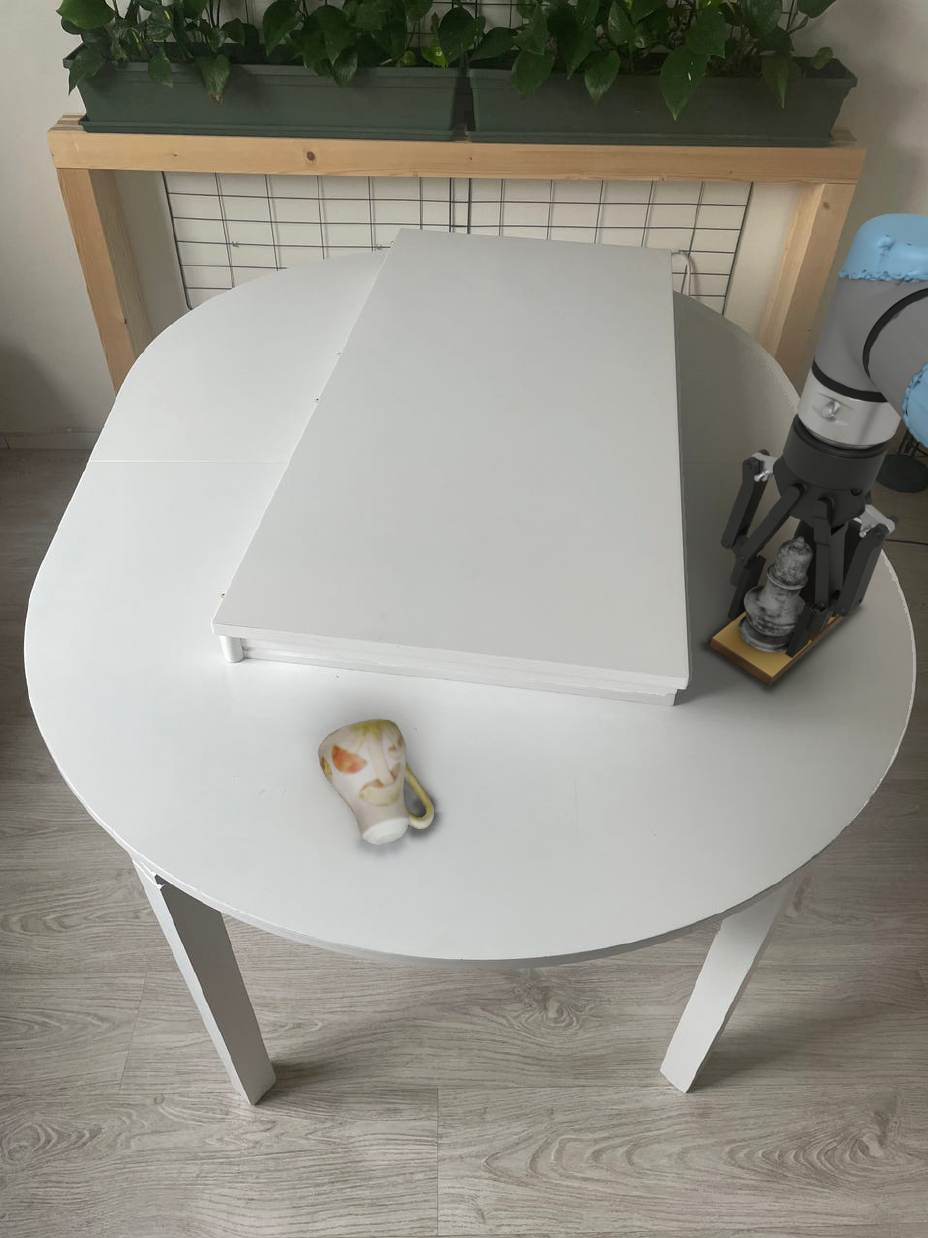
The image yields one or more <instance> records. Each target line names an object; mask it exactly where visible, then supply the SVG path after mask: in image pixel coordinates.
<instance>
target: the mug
mask: <svg viewBox="0 0 928 1238" xmlns="http://www.w3.org/2000/svg"><path fill="white" fill-rule="evenodd" d="M406 746H407V745H406V742H405V738H404V736H403V734H402V730H401V729H400V727H399V725H398V724H397V723H396V722H395V721H393V720H390V719H383V718H377V719H376V718H375V719H367V720H363V721H362V720H361V721H358V722H354V723H351V724H348V725H345V726H342V727H340V728H337V729H336V730H334V731H332V732H330V733H329V734H328V735H327V736H326V737H325V738H324V739H323V740H322V742H321V743H320V744H319V747H318V748H317V756H318V760H319V765H320V769H321V770H322V773H323V775H324V777H325V779H326V780H327V781H328V783H329V784H330V786H331V787H332V788H333V789H334V790H335V791H336V793H337V794H338V795H339V796H340V797H341V799H342V800H343V801H344V802H345V804H346V805H347V806H348V807H349V809H350V810H351V813H353V816H354V818H355V821H356V823H357V826H358V830H359V833H360V835H361V837H362V839H363V840H364V841H366V842H368V843H369V844H372V845H376V846H381V845H386V844H391V843H393V842H395V841H397V840H398V839H401V837H402V836H404V835H405V833H406V832H407V830H408V828H409V826H411V827H412V828H415V829H418V830H425V829H426V828H428V827H429V826H430V825H431V824H432V822H433V820H434V817H435V806H434V804H433V801H432V800H431V798H430V797H429V794H428V793H427V792H426V790H425V788H423V787H422V785H421V784H420V782H419V781H418V779H417V777H416V776H415V775H414V774H413V772H412V770H411V768H410V766H409V764H408V762H407V747H406ZM405 783H406V784H407V785H408V786H409V788H410V789H412V791H413V792H414V793H415V794H416V796H417V797H418V798H419V800H420V802H421V803H422V805H423V807H424V809H425V810H424V811H425V813H424V815H423V816H417V815H414V814H412V812H411V811H409V808H408V807H407V806H406V801H405V795H404V786H405Z"/></svg>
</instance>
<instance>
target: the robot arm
mask: <svg viewBox="0 0 928 1238" xmlns="http://www.w3.org/2000/svg"><path fill="white" fill-rule="evenodd" d="M842 266H843V267H842V268H841V269H839V270H838V273H837V281H836V283H835V287H834V290H833V295H832V296H831V300H830V303H829V307H828V310H827V312H826V313H827V314H826V316H825V320H824V322H823V325H822V329H821V332H820V335H819V339H818V342H817V345H816V348H815V352H814V357H813V360H812V361H811V364H810V368H809V371H808V374H807V377H806V380H805V383H804V386H803V389H802V391H801V395H800V397H799V400H798V404H797V407H796V408H797V411H796V412H797V413H796V414H795V415H794V417H793V418H792V422H791V424H790V428H789V431H788V434H787V437H786V439H785V443H784V446H783V450H782V454H781V455H780V456H779V457H775V456H771V455H770V452H769V451H768V450H767V449H765V448H762V449H759V450H758V451H756V452H755V453H753V454H751V455H750V456H749V457H747V458H746V459H744V460H743V461H742V464H741V474H742V475H741V477H742V478H741V480H742V481H741V485H740V487H739V491H738V493H737V496H736V498H735V501H734V503H733V507H732V509H731V512H730V514H729V518H728V520H727V523H726V526H725V529H724V531H723V534H722V536H721V539H720V544H721V547H722V548H723V549H725V550H731V551H732V553H734V556H735V557H734V558H735V562H734V566H733V569H732V572H731V575H730V578H729V580H730V585H732V586H734V587H735V588H736V589H735V592H734V595H733V598H732V600H731V604H730V606H729V611H728V612H727V617H726V618H728V619H729V620H730V621H731V622H732V621H734V620H736V619H737V618H738V617H739V616H740V615H742V614H743V613H744V612H745V606H744V598H745V595H746V593H747V592H748V591H749V590H750V589H752V588H754V587H756V586H759V582H760V579H761V576H762V573H763V570H764V567H765V564H766V561H767V557H765V556H763V555H761V554H759V553H761V552H762V551H763V550H765V547H766V545H767V544H768V543H769V542H770V541H771V540H772V538H773V537H774V536H775V535H776V534H777V533H778V531H779V530H780V529H781V528H782V526H784V524H785V523H786V522H787V521H788V520H789V518H790V517H792V518H794V519H798V520H799V521H800V520H803V521H805V522H806V523H807V524H808V525H809V526H810V527H812V528H814V542H816V543H817V549H816V581H815V596H814V597H813V598H812V599H811V600H809V601H808V602H807V603H806V604H805V606H804V608H803V611H802V613H801V616H800V618H799V621H798V623H797V626H796V628H795V631H794V633H793V636H792V638H791V640H790V643H789V645H788V648H787V650H786V653H785V654H786V655H788V656H789V657H791V658H793V657H794V656H795V655H796V654H797V653H798V652H800V651H801V650H802V649H803V648H804V647H805V646H806V645H807V644H808V642H809V640H810V637H811V635H812V633H813V634H814V635H817V634H818V633H819V632H820V631H821V630H823V629H824V628H825V627H826V626H827V625H828V623H829V620H830V618H831V616H832V613H833V611H835V612H836V613H837V614H838V615H839V616H841V617H845V618H846V617H847V616H849V615H850V614H851V613H852V612H853V611H854V610H855V609H857V607H859V606H860V605H861V604H862V603H863V601H864V598H865V596H866V592H867V590H868V588H869V585H870V582H871V579H872V577H873V574H874V571H875V569H876V566H877V564H878V561H879V558H880V556H881V552H882V550H883V547H884V545H885V543H886V540H887V538H888V537H889V536H890V535H891V534H893V533H894V532H895V530H896V529H898V528H899V527H900V523H901V522H900V519H899V518H898V516H896V515H894V514H888V515H887V516H885V515H884V514H883V513H882V512H880V511H879V510H878V509H877V508H876V507H875V506H873V505H872V504H873V494H872V489H873V485H874V483H875V481H876V479H877V477H878V474H879V472H880V469H881V468H882V465H883V462H884V460H885V458H886V456H887V453H888V450H889V449H890V448H889V447H890V445H891V441H892V440H891V439H892V437H894V435H895V434H896V432H897V429H898V427H899V425H900V423H901V420H902V421H903V423H904V424H905V425H904V426H906V428H907V429H908V432H909V433H910V434H911V435H912V437H913V438H914V439H915V440H916V441H917V442H918V443H921V444H922V445H923V446H924V447H925V448H927V449H928V215H924V214H918V213H908V212H907V213H906V212H904V213H903V212H902V213H901V212H900V213H885V214H880V215H877V216H874V217H872V218H869V219H868V220H867V221H865V222H864V223H863V224H861V225H860V227H859V228H857V231H856V232H855V235H854V237H853V240H852V242H851V245H850V248H849V251H848V252H847V255H846V259H845V261H844V264H843V265H842ZM772 477H774V481H775V484H776V488H777V490H778V495H779V496H780V497H779V499H778V500H777V501H776V502H775V504H774V505H773V506H772V507H771V508H770V510H769V511H768V513H767V515H766V517H765V518H764V519H763V520H762V521H761V522H760V523H759V525H758V526H757V527H756V528H755V530H754V531H753V532H752V534H751V535H750V536H749V537H748V536H747V535H748V533H749V531H750V528H751V525H752V523H753V520H754V518H755V515H756V513H757V511H758V509H759V505H760V502H761V500H762V498H763V495H764V493H765V490H766V487H767V485H768V482H769V480H770V478H772ZM857 517H859V518H860V519H861V521H862V525H861V528H860V533H859V535H860V537H862V538H863V539H862V540H861V541H860V542H859V544H858V546H857V548H856V550H855V553H854V556H853V559H852V562H851V565H850V568H849V571H848V573H847V576H846V579H845V582H844V585H843V588H842V581H843V561H844V541H845V533H846V531H847V529H848V521H850V520H852V519H855V518H857Z"/></svg>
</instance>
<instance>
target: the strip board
mask: <svg viewBox="0 0 928 1238" xmlns="http://www.w3.org/2000/svg"><path fill="white" fill-rule="evenodd" d="M744 616H746V611H745V612H744V613H743V614H742V615H740V616H739V617H738V618H737V619H736V620H734V621H732V620H731V622H729V624H727V625H726V626H724V627H723V628H722V629H721V630H720V631H719V632H717V633H716V634H715V635H714V636H712V637H711V640H710V642H709V647H710V648H711V649H713V650H715V652H717V653H719V654H721V656H723V657H725V658H726V659H728V660H730V661H731V662H732V663H733V664H735V665H737V666H738V667H740V668H741V669H743V670H744V671H746V672H747V673H748V674H751V675H752V676H753V677H755V678H756V679H757V680H759V681H761V682H762V683H763V684H765V685H766V686H771V685H773V683H775V682H776V681H777V680H778V679H779V678H780V677H781V676H783V674H785V673H786V671H788V670H789V669H790V668H791V667H792V666H793V665H794V664H796V663H797V662H798V661H799V660H800V659H801V658H802V657H803V656H804V655H806V654H807V653H808V652H809V651H810V650H811V649H812V648H813V647H814V646H815V645H817V643H819V641H821V640H822V639H824V637H825V636H826V635H828V633H830V632H831V631H832V630H833V629H834V628H835V627H836V626H837V625H838V624H839V623H841V622H842V621H843V620H844V619H846V617H841V616H839V615H837V616H836V617H831V618H830V620H829V623H828V625H827V626H826V627H825V628H824V629H823V630H821V631H820V632H819V633H818V634H817V635H814V634H813V633H812V635H811V637H810V640H809V642H808V644H807V645H806V646H805V647H804V648H803V649H802V650H801V651H800V652H798V653H797V654H796V655H795V656H794V657H793V658H791V657H789V656H788V655H786V654H785V653H786V650H787V649H786V650H784V651H780V652H766V651H762V650H759V649H756V648H754V647H752V646H750V645H749V644H748V643H747V642H745V641H744V639H743V638H742V637H741V635H740V633H739V628H738V626H739V623H740V620H741V619H742V618H743V617H744ZM794 631H795V630H794Z"/></svg>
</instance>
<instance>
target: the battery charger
mask: <svg viewBox="0 0 928 1238" xmlns="http://www.w3.org/2000/svg"><path fill="white" fill-rule="evenodd" d="M861 525H862V521H861V519H860V518H859V517H857V518H855V519H852V520H850V521H848V529H847V531H846V533H845V541H844V561H843V581H842V588H843V585H844V582H845V579H846V576H847V573H848V571H849V568H850V565H851V562H852V559H853V556H854V553H855V550H856V548H857V546H858V544H859V542H860V541H861V540H862V539H863V538H862V537H860V535H859V533H860V528H861ZM801 536H803V538H804V540H805V541H804V542H805V543H807V544H808V545H809V546H810V548H811V550H812V553H813V555H812V559H811V562H810V564H809V567H808V569H807V572H806V575H807V578H808V581H807V584H806V585H805V586H804V587H802V588H801V590H800V592H799V596H800V597H801V598H802V599H803V600H804V602H805V604H806V603H807V602H808V601H809V600H811V599H812V598H813V597H814V596H815V581H816V549H817V543H816V542H814V528H812V527H810V526H809V525H808V524H807V523H806V522H805V521H803V520H800V519H799V521H798V523H797V526H796V529H795V531H794V534H793V537H792V539H795V540H796V539H797V538H798V537H801ZM837 615H838V614H837V613H836V612H835V611H833V613H832V616H831V617H836V616H837Z"/></svg>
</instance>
